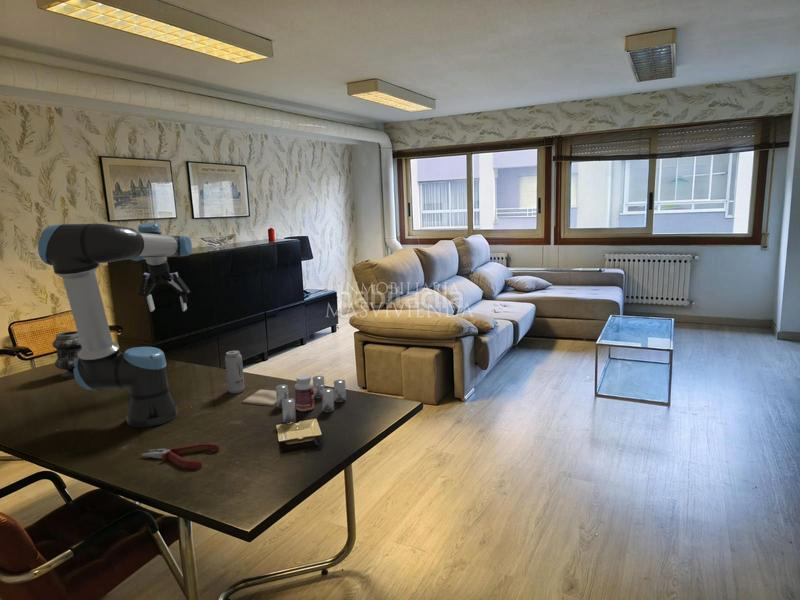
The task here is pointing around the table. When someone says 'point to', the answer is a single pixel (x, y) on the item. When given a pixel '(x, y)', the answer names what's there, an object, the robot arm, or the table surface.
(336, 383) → the grey cylinder
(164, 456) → the pliers
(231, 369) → the energy drink can
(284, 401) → the spacer near
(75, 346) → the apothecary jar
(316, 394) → the cylinder
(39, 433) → the table surface
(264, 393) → the coaster
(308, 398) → the pill bottle
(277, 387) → the cylinder
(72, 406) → the table surface
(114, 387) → the robot arm
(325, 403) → the cylinder
